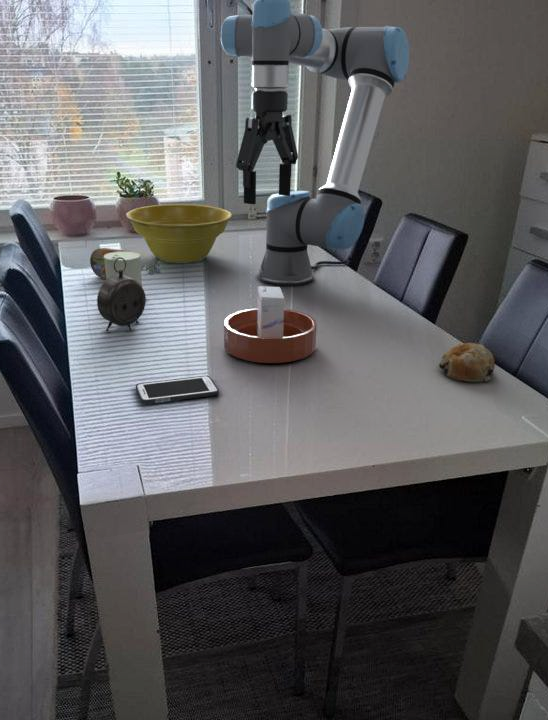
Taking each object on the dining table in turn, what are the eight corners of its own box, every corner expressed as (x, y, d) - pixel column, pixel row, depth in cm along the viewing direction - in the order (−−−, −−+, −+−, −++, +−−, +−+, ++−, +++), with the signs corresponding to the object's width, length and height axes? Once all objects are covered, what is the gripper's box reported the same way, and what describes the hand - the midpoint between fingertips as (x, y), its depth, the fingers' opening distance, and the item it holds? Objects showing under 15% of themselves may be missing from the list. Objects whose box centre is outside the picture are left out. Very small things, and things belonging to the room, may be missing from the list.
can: (100, 303, 171) (95, 255, 164) (122, 293, 177) (118, 247, 171) (130, 308, 167) (125, 260, 161) (151, 298, 174) (147, 251, 167)
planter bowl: (251, 254, 214) (251, 210, 207) (191, 277, 191) (190, 228, 184) (172, 241, 229) (170, 200, 221) (108, 261, 206) (103, 215, 198)
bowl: (259, 327, 156) (259, 302, 153) (331, 346, 146) (333, 319, 143) (206, 352, 143) (205, 325, 139) (281, 374, 133) (282, 345, 129)
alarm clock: (137, 320, 159) (131, 251, 151) (151, 326, 156) (146, 255, 147) (99, 331, 153) (90, 259, 144) (112, 337, 150) (105, 264, 141)
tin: (91, 277, 191) (87, 247, 186) (97, 274, 193) (93, 244, 189) (136, 283, 186) (134, 252, 181) (142, 280, 188) (140, 249, 184)
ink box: (283, 352, 140) (285, 297, 134) (260, 353, 140) (261, 297, 134) (278, 338, 148) (280, 285, 141) (256, 338, 147) (257, 285, 141)
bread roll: (470, 402, 130) (496, 372, 125) (428, 371, 132) (451, 340, 127) (484, 385, 138) (509, 355, 132) (444, 355, 139) (467, 325, 134)
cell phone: (220, 395, 124) (220, 390, 123) (141, 405, 120) (141, 400, 119) (209, 379, 130) (209, 374, 129) (135, 388, 126) (134, 383, 126)
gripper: (287, 87, 148) (284, 190, 160) (218, 91, 131) (220, 205, 143) (316, 88, 144) (311, 193, 156) (248, 92, 127) (248, 209, 139)
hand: (267, 199), depth 149 cm, fingers open, 13 cm apart
